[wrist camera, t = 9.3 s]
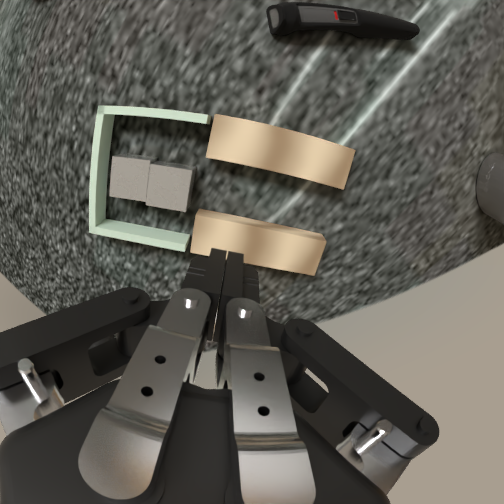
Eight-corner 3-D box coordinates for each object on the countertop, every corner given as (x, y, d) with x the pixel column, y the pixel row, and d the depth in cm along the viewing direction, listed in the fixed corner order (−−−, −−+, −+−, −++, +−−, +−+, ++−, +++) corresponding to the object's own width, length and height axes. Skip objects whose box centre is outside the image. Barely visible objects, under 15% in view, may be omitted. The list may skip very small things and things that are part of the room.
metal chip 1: (158, 157, 25) (150, 160, 23) (153, 195, 27) (145, 201, 24) (122, 153, 24) (112, 156, 22) (119, 189, 26) (109, 196, 24)
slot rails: (347, 148, 25) (355, 150, 23) (310, 266, 30) (314, 275, 28) (217, 114, 23) (214, 114, 21) (193, 244, 29) (190, 252, 27)
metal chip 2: (197, 166, 25) (192, 170, 23) (190, 204, 27) (185, 212, 25) (158, 160, 25) (150, 163, 23) (153, 198, 27) (145, 205, 24)
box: (211, 116, 23) (208, 115, 21) (189, 241, 29) (184, 252, 26) (109, 106, 22) (98, 105, 20) (99, 224, 27) (89, 232, 25)
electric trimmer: (408, 49, 20) (424, 44, 17) (270, 38, 20) (274, 27, 17) (402, 21, 18) (417, 14, 15) (265, 8, 18) (268, -5, 15)
